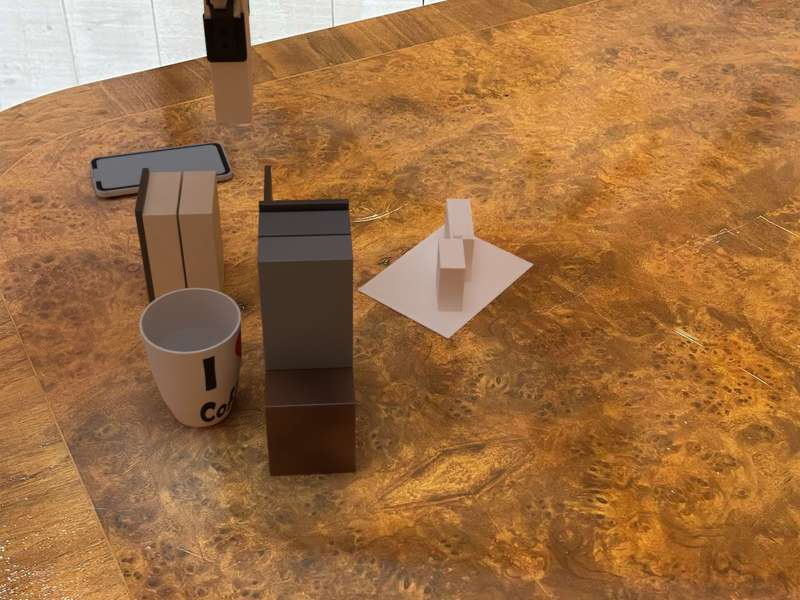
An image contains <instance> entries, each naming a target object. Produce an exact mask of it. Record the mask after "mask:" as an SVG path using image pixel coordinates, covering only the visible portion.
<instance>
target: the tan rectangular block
mask: <svg viewBox="0 0 800 600" xmlns="http://www.w3.org/2000/svg"><path fill="white" fill-rule="evenodd" d="M240 10H241V13H244V17H245V30H246V43H247V60H246V61H245V62H218V63H212V62H209V66H210V74H211V75H210V77H211V85H212V93H213V94H212V95H213V104H214V113H215V123H216V124H242V123H243V124H247V123H253V108H254V89H255V87H254V86H255V80H254V67H253V54H252V52H253V51H252V39H251V38H252V37H251V24H250V16H249V10H248V0H240Z"/></svg>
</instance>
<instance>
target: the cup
mask: <svg viewBox="0 0 800 600" xmlns="http://www.w3.org/2000/svg"><path fill="white" fill-rule="evenodd" d="M138 328H139V333H140V336H141V341H142V344H143V347H144V352H145V355H146V359H147V363H148V367H149V370H150V372H151V374H152V376H153V379H154V381H155V383H156V387H157V388H158V392H159V393H160V395H161V398H162V400H163V402H164V403H165V404H166V406H167V408H168V409H169V410H170V412H171V413H172V415H173V416H174V418H175V419H176V420H177V421H178V422H179V423H180V424H182V425H184V426H187V427H191V428H208V427H211V426H214V425H216V424H218V423H219V422H221V421H223V420H224V419H225V418H226V417H227V416H228V415H229V414H230V411H231V409H232V406H233V403H234V400H235V396H236V394H237V392H238V387H239V379H240V372H241V363H242V355H243V353H242V352H243V351H242V313H241V309H240V306H239V305H238V304H237V302H236V301H235V300H234V299H233V298H232V297H230V296H229V295H227V294H226V293H224V292H223V293H221V292H219V291H216V290H212V289H207V288H186V289H180V290H176V291H172V292H169V293H167V294H164V295H162V296H160V297H159V298H157V299H155V300H154V301H153V302H151V303H150V304H149V303H148V305H147V306H146V307H145V309H144V310H143V311H142V313H141V315H140V317H139V322H138Z"/></svg>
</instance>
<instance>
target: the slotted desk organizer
mask: <svg viewBox="0 0 800 600" xmlns="http://www.w3.org/2000/svg"><path fill="white" fill-rule="evenodd" d="M263 169H264V170H263V201H266V200H274V197H273V179H272V165H270V164H266V165H264V167H263ZM135 200H136V201H135V206H134V216H135V223H136V229H137V235H138V241H139V248H140V254H141V260H142V266H143V272H144V278H145V279H144V280H145V285H146V291H147V292H146V293H147V297H148V305H149V304H150V303H151V302H153V301H154V300H155V299H157V298H159V297H160V296H162V295H164V294H167V293H169V292H172V291H176V290H180V289H186V288H207V289H212V290H216V291H219V292H221V293H224V278H225V277H224V276H225V265H226V264H225V263H226V262H225V252H224V251H225V250H224V241H223V229H222V222H221V221H222V219H221V210H220V209H221V208H220V201H219V200H220V199H219V190H218V181H217V178H216V171H186V172H184V175H183V179H182V172H150V173H149V168H142V173H141V179H140V184H139V189H138V193H137V195H136V199H135Z"/></svg>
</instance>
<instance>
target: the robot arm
mask: <svg viewBox="0 0 800 600" xmlns="http://www.w3.org/2000/svg"><path fill="white" fill-rule="evenodd" d="M202 1H203V13H202V23H203V34H204V43H205V51H206V60H207V61H208V63H210V62H212V63H218V62H245V61H246V60H247V43H246V30H245V17H244V13H241V10H240V0H202ZM248 10H249V17H250V14H251V12H250V11H251V10H250V0H248Z"/></svg>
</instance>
